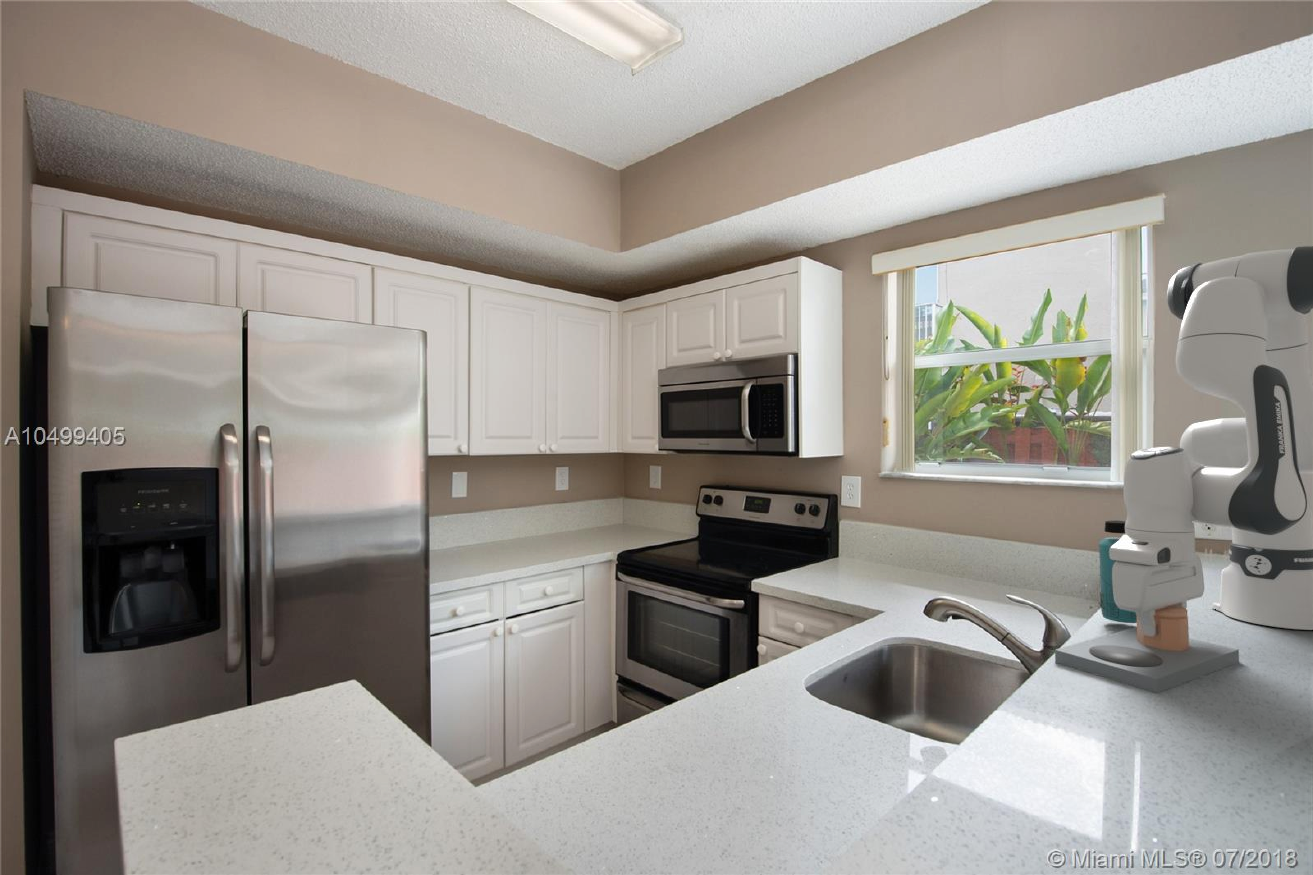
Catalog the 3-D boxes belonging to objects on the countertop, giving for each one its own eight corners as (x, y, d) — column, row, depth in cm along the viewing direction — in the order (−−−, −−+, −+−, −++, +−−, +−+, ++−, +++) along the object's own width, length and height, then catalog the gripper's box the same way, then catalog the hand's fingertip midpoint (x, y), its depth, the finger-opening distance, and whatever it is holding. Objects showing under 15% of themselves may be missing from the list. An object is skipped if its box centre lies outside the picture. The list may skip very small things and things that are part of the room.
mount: (1137, 637, 109) (1136, 604, 109) (1239, 662, 96) (1237, 624, 96) (1055, 662, 98) (1054, 624, 99) (1157, 693, 86) (1155, 650, 86)
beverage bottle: (1152, 632, 112) (1148, 523, 112) (1111, 630, 113) (1107, 523, 113) (1132, 621, 118) (1128, 518, 118) (1093, 620, 120) (1090, 518, 120)
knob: (1150, 635, 104) (1149, 599, 104) (1196, 646, 98) (1195, 608, 98) (1129, 642, 101) (1128, 604, 101) (1175, 653, 95) (1174, 613, 95)
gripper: (1169, 538, 107) (1172, 617, 107) (1102, 550, 98) (1105, 636, 98) (1215, 543, 102) (1218, 626, 101) (1148, 556, 93) (1151, 647, 92)
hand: (1162, 631), depth 100 cm, fingers closed on knob, 6 cm apart
